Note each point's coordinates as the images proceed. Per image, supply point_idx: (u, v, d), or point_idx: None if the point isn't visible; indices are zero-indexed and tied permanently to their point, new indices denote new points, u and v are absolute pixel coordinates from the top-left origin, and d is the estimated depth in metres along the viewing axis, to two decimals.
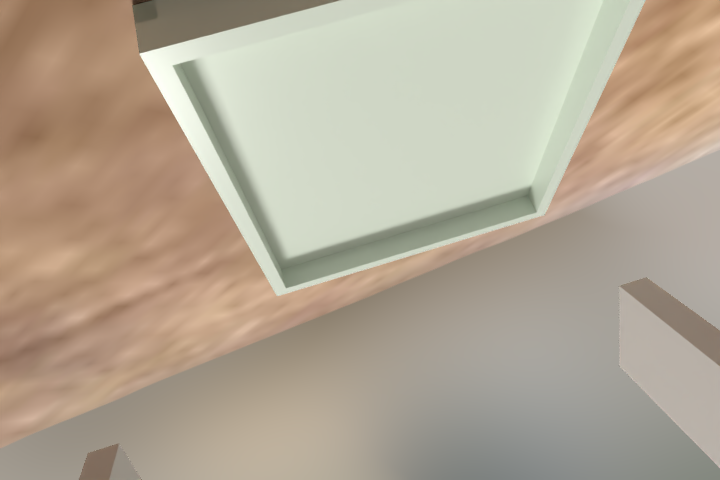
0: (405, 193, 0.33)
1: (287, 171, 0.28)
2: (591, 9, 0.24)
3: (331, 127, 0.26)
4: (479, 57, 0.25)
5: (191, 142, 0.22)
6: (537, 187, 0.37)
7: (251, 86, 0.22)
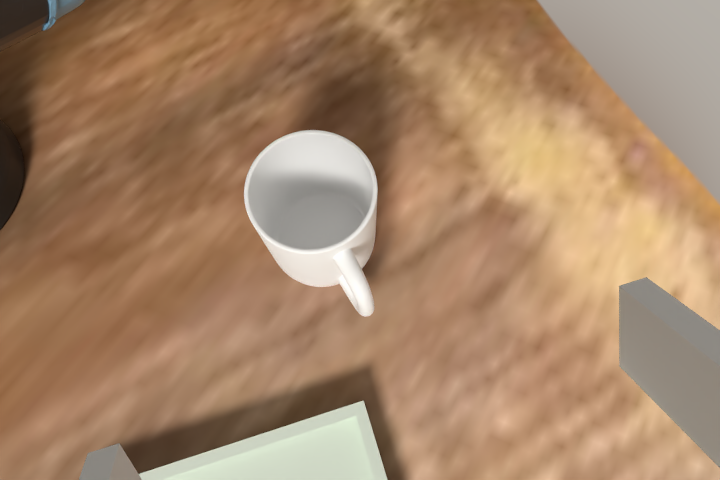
0: None
1: None
2: None
3: None
4: None
5: None
6: None
7: None
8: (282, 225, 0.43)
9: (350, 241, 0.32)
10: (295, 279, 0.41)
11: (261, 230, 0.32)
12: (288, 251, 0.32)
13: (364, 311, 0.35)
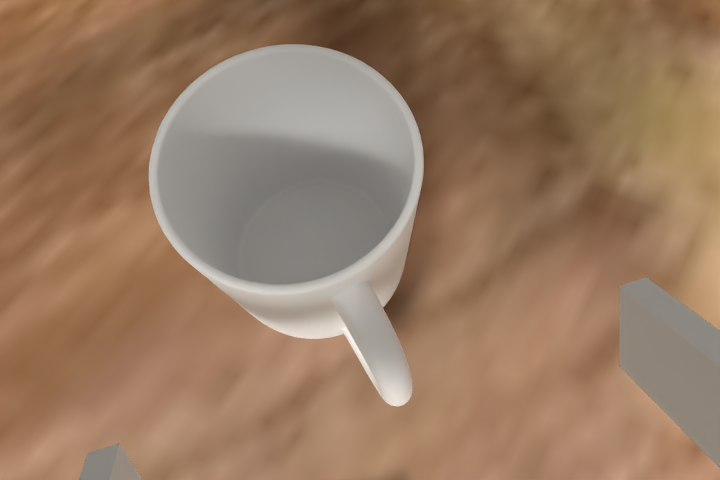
0: None
1: None
2: None
3: None
4: None
5: None
6: None
7: None
8: (250, 233, 0.26)
9: (368, 267, 0.15)
10: (268, 326, 0.23)
11: (179, 243, 0.15)
12: (235, 288, 0.15)
13: (394, 403, 0.18)
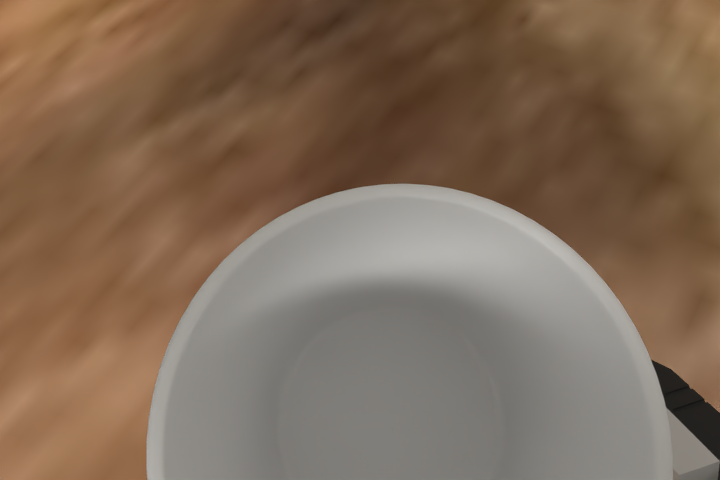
0: None
1: None
2: None
3: None
4: None
5: None
6: None
7: None
8: (293, 386, 0.18)
9: None
10: None
11: None
12: None
13: None
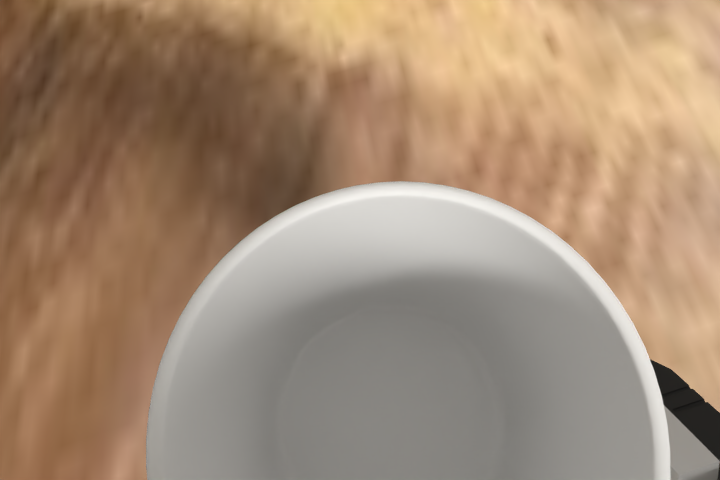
0: None
1: None
2: None
3: None
4: None
5: None
6: None
7: None
8: (292, 384, 0.18)
9: None
10: None
11: None
12: None
13: None
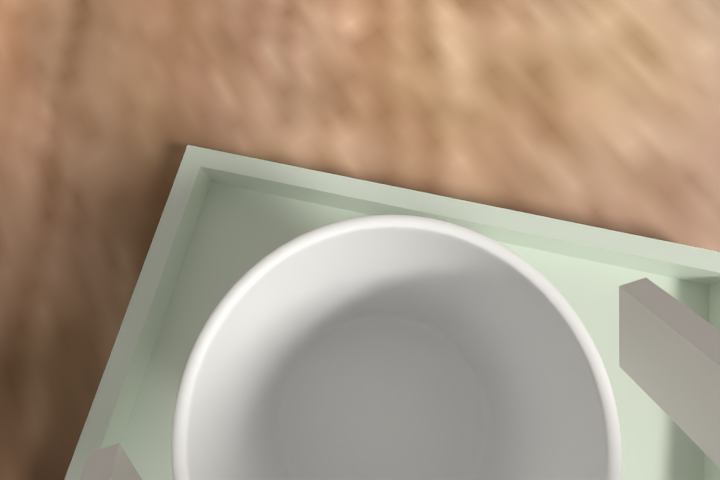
0: None
1: None
2: (306, 212, 0.22)
3: None
4: None
5: None
6: (665, 270, 0.20)
7: None
8: (293, 389, 0.20)
9: None
10: None
11: None
12: None
13: None
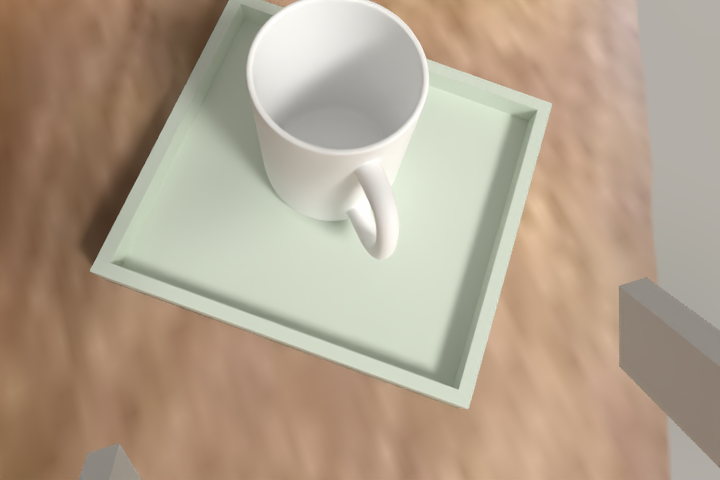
0: (415, 218, 0.33)
1: (293, 284, 0.32)
2: None
3: (271, 229, 0.32)
4: None
5: (171, 299, 0.29)
6: (504, 106, 0.35)
7: (190, 252, 0.32)
8: None
9: (384, 147, 0.24)
10: (291, 205, 0.32)
11: (264, 113, 0.23)
12: (298, 147, 0.23)
13: (383, 249, 0.26)
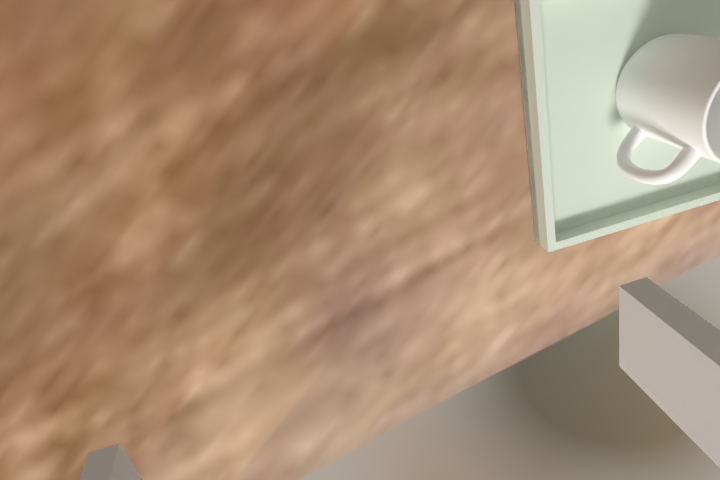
0: (638, 157, 0.48)
1: (567, 117, 0.45)
2: None
3: (596, 79, 0.44)
4: (679, 32, 0.44)
5: (534, 60, 0.41)
6: None
7: (560, 40, 0.42)
8: None
9: (716, 161, 0.38)
10: (622, 86, 0.44)
11: (717, 88, 0.35)
12: (701, 119, 0.36)
13: (637, 177, 0.42)
